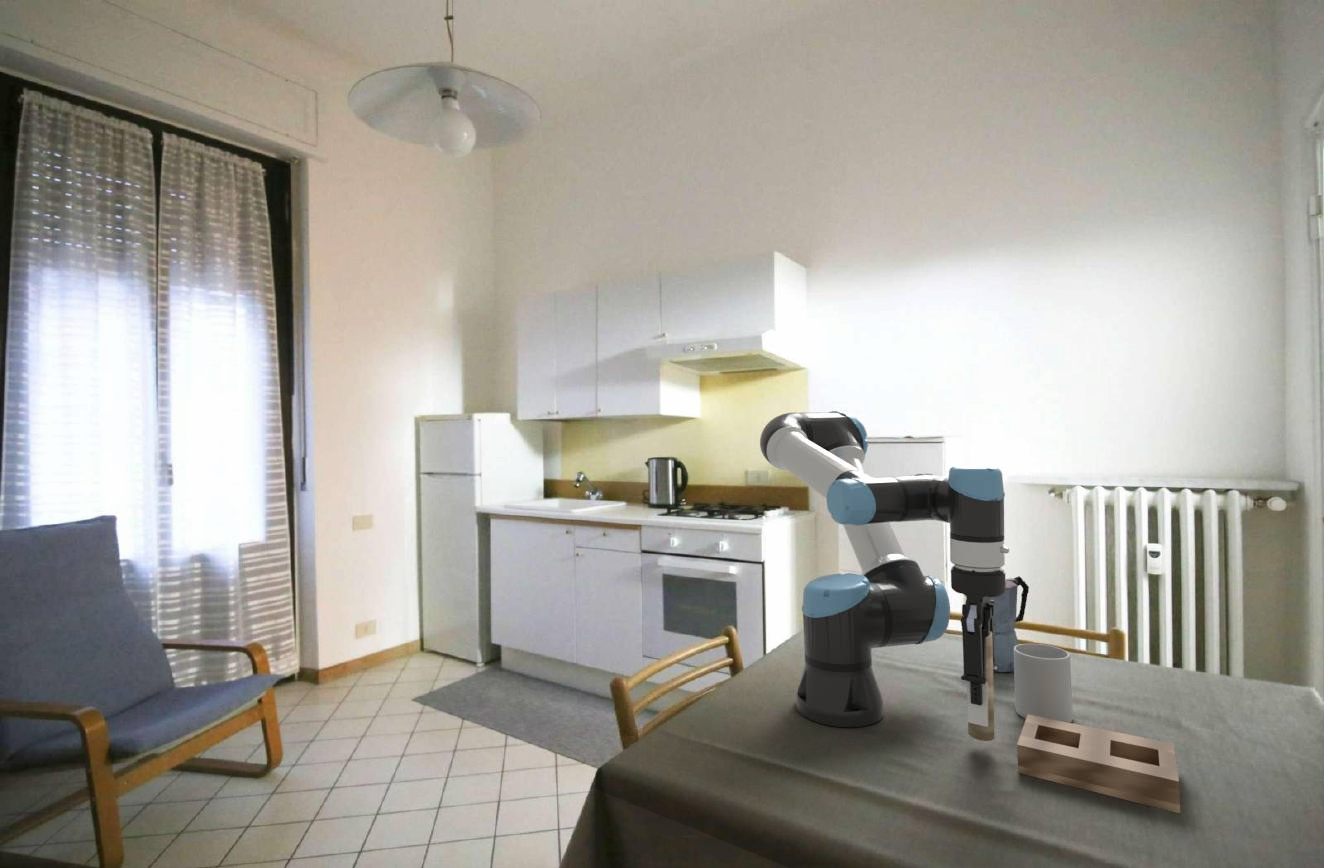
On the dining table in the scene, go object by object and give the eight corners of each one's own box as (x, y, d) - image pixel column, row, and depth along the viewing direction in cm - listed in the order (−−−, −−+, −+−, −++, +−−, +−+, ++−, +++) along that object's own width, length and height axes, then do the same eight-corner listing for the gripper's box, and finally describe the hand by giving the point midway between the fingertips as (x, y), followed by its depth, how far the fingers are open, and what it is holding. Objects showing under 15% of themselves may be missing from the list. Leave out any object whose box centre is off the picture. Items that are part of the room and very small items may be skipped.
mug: (1084, 725, 104) (1082, 658, 105) (1032, 726, 105) (1030, 660, 105) (1042, 696, 116) (1040, 636, 117) (995, 697, 117) (993, 637, 117)
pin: (966, 736, 97) (963, 632, 97) (970, 727, 100) (968, 626, 100) (992, 743, 95) (990, 636, 95) (996, 733, 98) (994, 630, 97)
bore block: (1018, 772, 90) (1017, 744, 90) (1028, 739, 100) (1027, 714, 100) (1180, 813, 80) (1179, 781, 80) (1174, 772, 89) (1173, 743, 89)
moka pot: (953, 662, 135) (949, 569, 135) (1009, 653, 140) (1006, 563, 140) (988, 678, 126) (984, 577, 126) (1047, 668, 130) (1044, 571, 131)
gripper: (995, 580, 88) (999, 747, 88) (1013, 559, 101) (1016, 704, 102) (938, 574, 93) (942, 733, 93) (962, 554, 106) (965, 694, 106)
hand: (980, 718), depth 97 cm, fingers closed on pin, 3 cm apart
